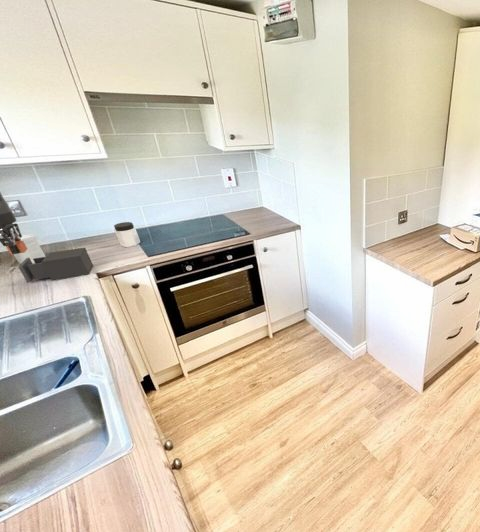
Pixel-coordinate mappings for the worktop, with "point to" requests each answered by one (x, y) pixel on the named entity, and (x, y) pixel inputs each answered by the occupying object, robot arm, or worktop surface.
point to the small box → (29, 249)
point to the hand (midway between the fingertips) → (18, 251)
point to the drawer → (31, 269)
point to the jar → (126, 234)
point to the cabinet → (67, 263)
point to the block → (19, 247)
